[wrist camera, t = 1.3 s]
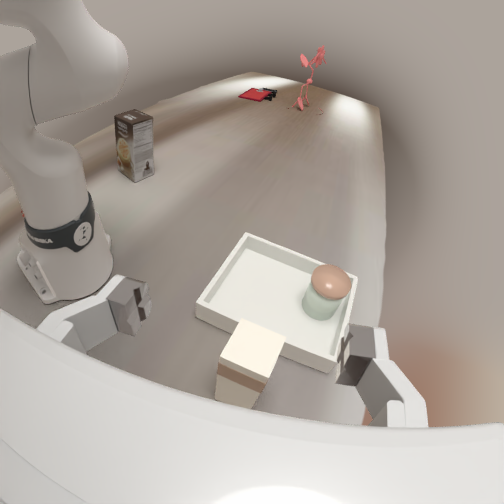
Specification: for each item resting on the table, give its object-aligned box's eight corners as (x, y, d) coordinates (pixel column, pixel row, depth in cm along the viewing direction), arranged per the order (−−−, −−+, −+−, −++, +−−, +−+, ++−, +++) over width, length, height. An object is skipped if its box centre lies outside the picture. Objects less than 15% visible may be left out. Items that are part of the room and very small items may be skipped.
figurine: (283, 109, 127) (299, 40, 103) (302, 101, 145) (317, 43, 120) (314, 120, 124) (333, 49, 99) (329, 111, 141) (346, 51, 116)
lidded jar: (295, 312, 48) (307, 286, 43) (306, 285, 52) (317, 258, 47) (331, 327, 46) (347, 302, 42) (339, 299, 51) (354, 273, 46)
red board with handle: (280, 92, 153) (255, 87, 154) (281, 88, 151) (256, 83, 152) (267, 104, 132) (238, 98, 133) (268, 99, 130) (238, 93, 131)
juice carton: (213, 398, 37) (219, 356, 27) (229, 369, 40) (241, 317, 30) (248, 414, 36) (269, 378, 26) (262, 383, 39) (287, 336, 29)
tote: (195, 317, 45) (195, 302, 43) (243, 247, 58) (245, 232, 55) (327, 373, 41) (337, 362, 39) (350, 291, 54) (358, 277, 51)
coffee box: (117, 170, 72) (112, 115, 61) (136, 162, 76) (134, 108, 65) (135, 183, 69) (131, 123, 58) (155, 174, 73) (154, 116, 61)
